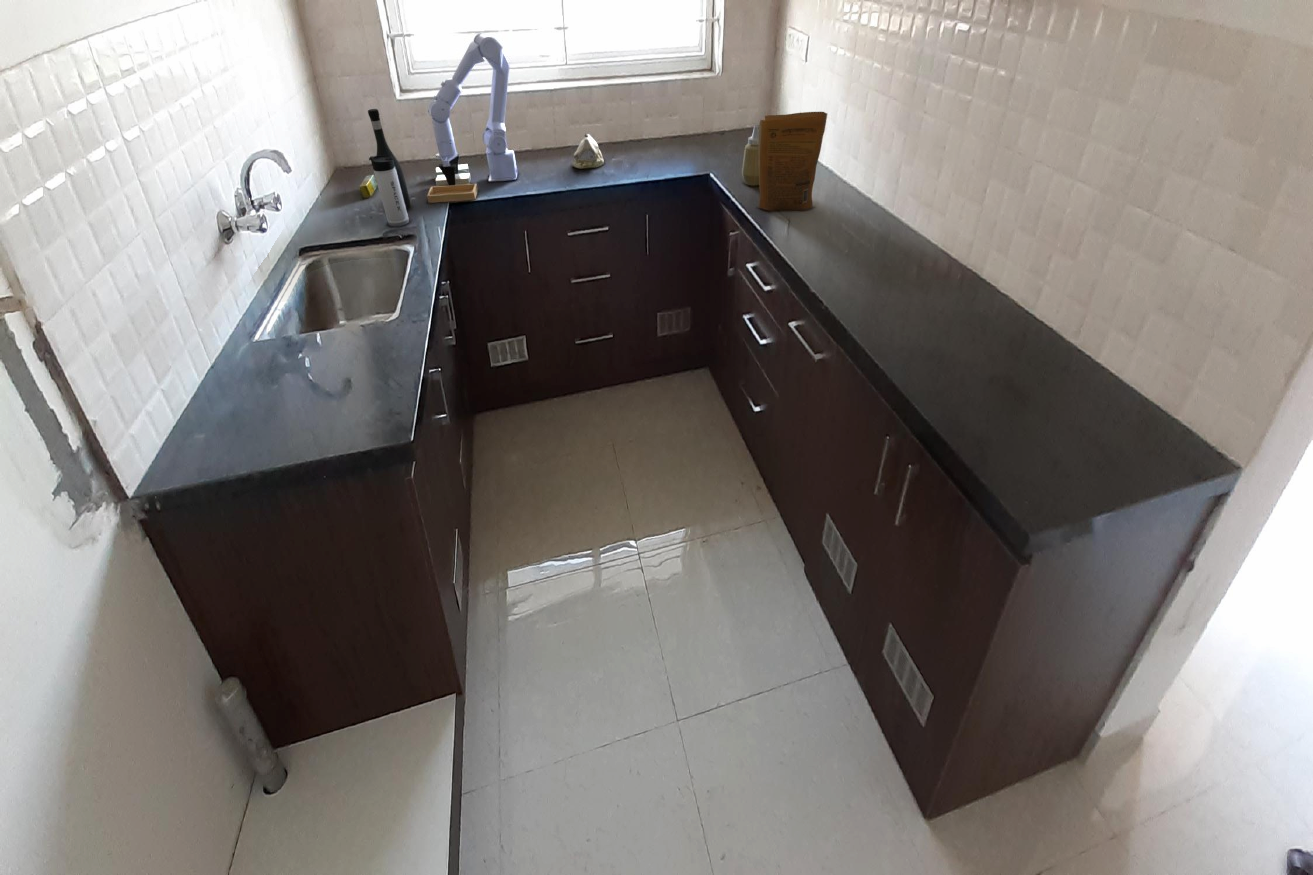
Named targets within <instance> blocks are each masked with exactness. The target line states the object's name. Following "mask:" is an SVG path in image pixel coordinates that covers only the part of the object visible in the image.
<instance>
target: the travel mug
mask: <svg viewBox="0 0 1313 875" xmlns="http://www.w3.org/2000/svg"><path fill="white" fill-rule="evenodd" d="M368 161H370V163H371V166H372V170H373V175H374V177H375V179H376V182H377V185H378V186H377V188H378V192H379V195H380V199H381V202H382V206H383V209H384V212H385V216H386V219H387V224H388V225H389V226H390V227H394V228H395V227H396V228H397V227H403V226H405V225H408V223H409V222H410V219H409V214H408V210H406V207H405V203H404V199H403V195H402V191H401V187H400V184H399V180H398V176H397V172H396V169H395V165H394V162H393V159H392V157H390V156H383V155H381V156H376V155H374V156H373V155H371V156H370V157H368Z"/></svg>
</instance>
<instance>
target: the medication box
mask: <svg viewBox="0 0 1313 875" xmlns="http://www.w3.org/2000/svg"><path fill="white" fill-rule="evenodd" d="M358 187H359V190H360V193H361V195H362V197H363V199H365V198H371V197H372V196H373V194H374V193H375V191H376V189H377V188H378V185H377V181H376V178H375V174H368V175H366V176H365V177H364V179H363V180H362V182H361V183H360V185H359V186H358Z"/></svg>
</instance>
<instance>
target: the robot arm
mask: <svg viewBox="0 0 1313 875" xmlns="http://www.w3.org/2000/svg"><path fill="white" fill-rule="evenodd" d="M485 60H486V61H487V63H488V64H489V65H490V66H491V68H492V76H491V77H492V79H491V87H490V88H491V90H490V102H489V113H488V120H487V122H486V125H485V129H484V131H483V133H482V141H483V143H484V145H486V150H485V154H486V159H487V164H488V165H487V166H488V170H489V177H488V182H491V183H492V182H505V181H516V180H517V177H518V167H517V162H516V156H515V151H514V150H510V149H508V139H507V137H506V136H507V131H506V126H505V119H506V109H507V108H506V107H507V99H508V98H507V95H508V86H509V76H510V75H509V74H510V63H509V60H508V59H507V57H506V54H505V51H504V48H503V45H502V44H501V43H500V42H499V41H498V40H497V39H496V38H495V37H493V36H490V35H489V34H488V33H486V32H479V33H477V34H475V36H474V38H473V40H472V41H471V42H470V43H469V44H468V46H467V49H466V51H465V53H464V55H463V57H462V59H461V60H460V62H459V64H458V65H457V68H456V70H455V71H454V73H453V75H452V77H451V78H446V79H445V81H442V82H441V83H440V86H441V87H440V88H439V91H438V92H437V93H436V95H434V96H433V97H432V99H433V100H431V101H430V102H429V103H428V106H427V107H428V109H427V112H428V114H429V116H430V117H431V123H432V128H433V133H434V137H435V138H434V139H435V142H436V147H437V151H438V153H436V154H435V158H439V159H440V161H441V162H442V163H439V164H438V167H439V169H440V170H441V171H442V172H443V174H444V176H445V178H446V180H447V182H448V184H449V185H457V184H456V180H455V174H458V165H459V163H460V162H459V161H460V156H461V155H460V154H459V153H458V151H457V149H456V143H455V139H454V134H453V129H452V124H451V120H450V118H451V110H452V109H453V107H454V105H455V104H456V103H457V100H458V99H459V97H460V95H461V94H462V92H463V89H462V85H463V83H464V82H465V80H466V78H467V77H468V75H469V74H470V73H471V71H472V70H473V68H474V67H475V65H477V64H481V63H484V62H485ZM449 185H448V186H449Z"/></svg>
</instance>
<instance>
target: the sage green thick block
mask: <svg viewBox="0 0 1313 875" xmlns="http://www.w3.org/2000/svg"><path fill="white" fill-rule="evenodd" d="M435 173H436V177H437V176H438V175H444V174H443V172H442V171H441V170H440V169H439V166H438V167H435ZM465 173H470V170H469V166H468V163H464V164H458V174H465Z"/></svg>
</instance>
